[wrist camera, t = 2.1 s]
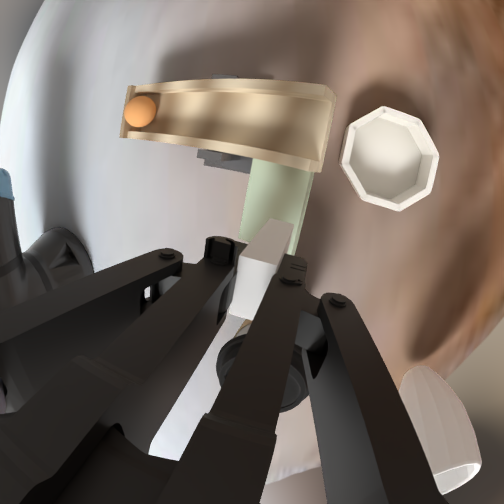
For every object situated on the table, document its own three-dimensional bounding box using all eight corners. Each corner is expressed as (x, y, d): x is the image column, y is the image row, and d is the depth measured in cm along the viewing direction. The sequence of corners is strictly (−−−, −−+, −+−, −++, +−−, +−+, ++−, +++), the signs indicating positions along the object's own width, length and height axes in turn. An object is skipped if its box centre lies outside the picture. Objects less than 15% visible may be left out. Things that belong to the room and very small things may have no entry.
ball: (136, 127, 28) (115, 126, 25) (141, 98, 27) (120, 94, 24) (159, 128, 27) (138, 127, 24) (165, 98, 26) (144, 93, 23)
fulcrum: (149, 156, 34) (114, 159, 27) (163, 76, 30) (130, 64, 23) (254, 174, 32) (236, 179, 25) (272, 83, 28) (259, 64, 21)
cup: (452, 339, 33) (502, 452, 13) (425, 388, 36) (450, 496, 16) (394, 333, 34) (427, 468, 15) (371, 385, 38) (379, 506, 18)
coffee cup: (245, 271, 36) (201, 342, 22) (320, 271, 34) (317, 348, 20) (252, 332, 39) (219, 412, 25) (319, 334, 37) (312, 421, 23)
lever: (135, 194, 32) (114, 197, 30) (150, 89, 28) (128, 85, 25) (299, 258, 22) (281, 270, 20) (336, 95, 18) (322, 82, 15)
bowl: (332, 188, 30) (334, 192, 27) (350, 104, 27) (354, 97, 23) (411, 211, 29) (423, 219, 25) (430, 131, 25) (444, 129, 22)
